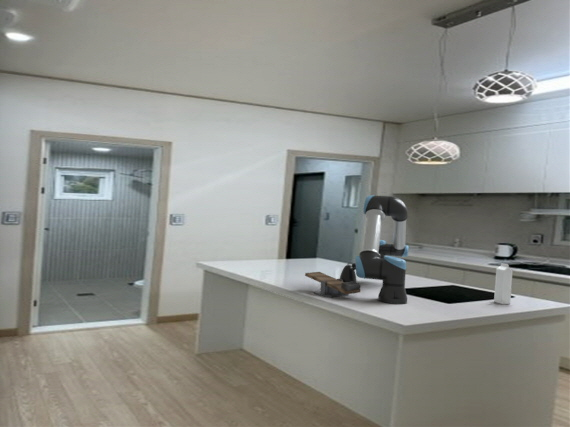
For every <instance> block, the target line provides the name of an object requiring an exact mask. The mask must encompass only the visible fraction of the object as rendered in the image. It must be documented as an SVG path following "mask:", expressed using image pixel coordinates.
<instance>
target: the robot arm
mask: <svg viewBox="0 0 570 427" xmlns="http://www.w3.org/2000/svg"><path fill="white" fill-rule="evenodd" d="M363 214H364V216H365V217H366V219H367V220H366V227H365V231H364V232H365V234H364V241H363V247H362V251H360V252H359V254H358V255H356V256H355V262H353V263H351V262H350V263H347V264H346V265H351V266H352V267H353V268H356V270H355V274H356V277H357V278H362V279H364V280H365V279H369V280H375V281H377V280H378V281H382V285H381V288H380V290H379V293H378V295H377V296H378V297H377V300H378V301H380V302H383V303H386V304H387V303H388V304H396V305H397V304H398V305H400V304H401V305H402V304H407V303H408V295H407V290H406V274H407V273H406V271H407V262H406V261H407V260H405V259H403V258H407V257H409V248H410V247H409V245H406V241H407V240H406V236H407V235H406V233H407V231H406V230H407V220H408V218H409V211H408V207H407V206H406V204H405V202H403V200H402V199H400V198H399V197H397V196H390V195H389V196H387V195H376V194H374V195H373V194H372V195H371V194H370V195H367V196H366V197H365V199H364V203H363ZM386 217H391V219H392V221H393V222H392V234H393V235H392V243H386V242H387V241H386V240H383V239H381V236H382V230H383V229H382V227H383V221H384V220H385V219H386ZM402 257H403V258H402Z"/></svg>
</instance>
